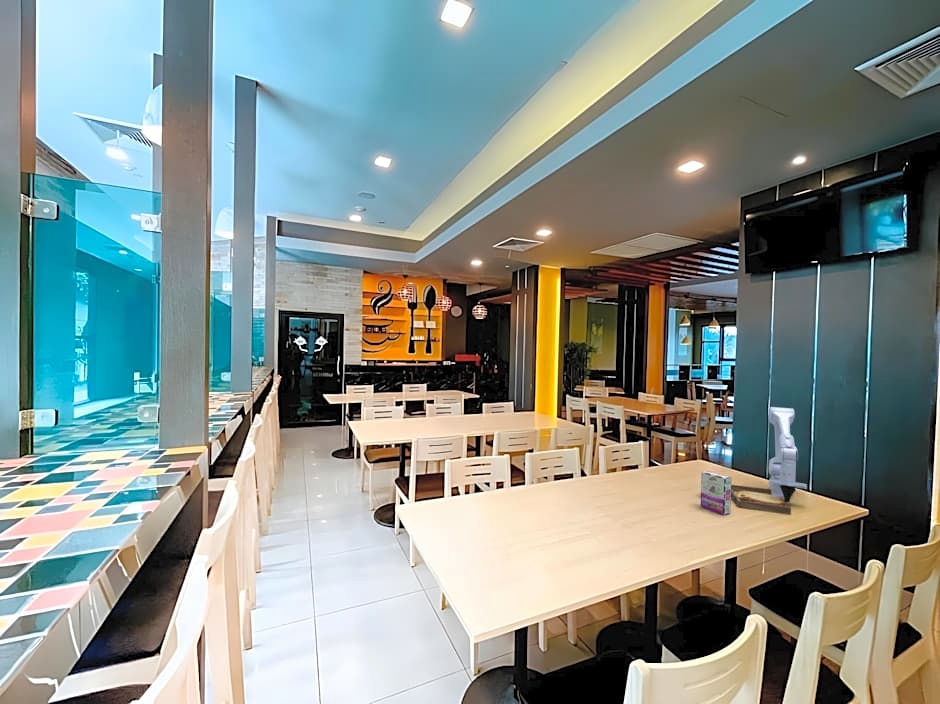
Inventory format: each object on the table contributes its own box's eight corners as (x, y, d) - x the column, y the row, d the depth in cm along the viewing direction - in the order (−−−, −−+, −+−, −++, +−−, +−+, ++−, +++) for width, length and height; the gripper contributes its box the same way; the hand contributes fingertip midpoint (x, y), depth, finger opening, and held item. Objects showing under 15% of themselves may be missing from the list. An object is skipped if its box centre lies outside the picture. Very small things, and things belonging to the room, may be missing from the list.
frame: (724, 489, 215) (725, 483, 215) (770, 495, 208) (770, 489, 208) (738, 507, 190) (738, 501, 190) (790, 514, 184) (790, 507, 184)
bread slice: (789, 504, 197) (789, 496, 197) (773, 511, 187) (773, 503, 187) (747, 492, 212) (747, 485, 212) (730, 498, 202) (731, 491, 202)
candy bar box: (731, 513, 183) (732, 477, 183) (724, 515, 180) (725, 478, 180) (706, 504, 193) (707, 470, 192) (699, 506, 190) (701, 471, 190)
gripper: (772, 473, 194) (771, 502, 194) (810, 477, 189) (809, 506, 189) (767, 469, 201) (766, 497, 201) (803, 473, 196) (802, 501, 196)
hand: (786, 501), depth 196 cm, fingers closed
